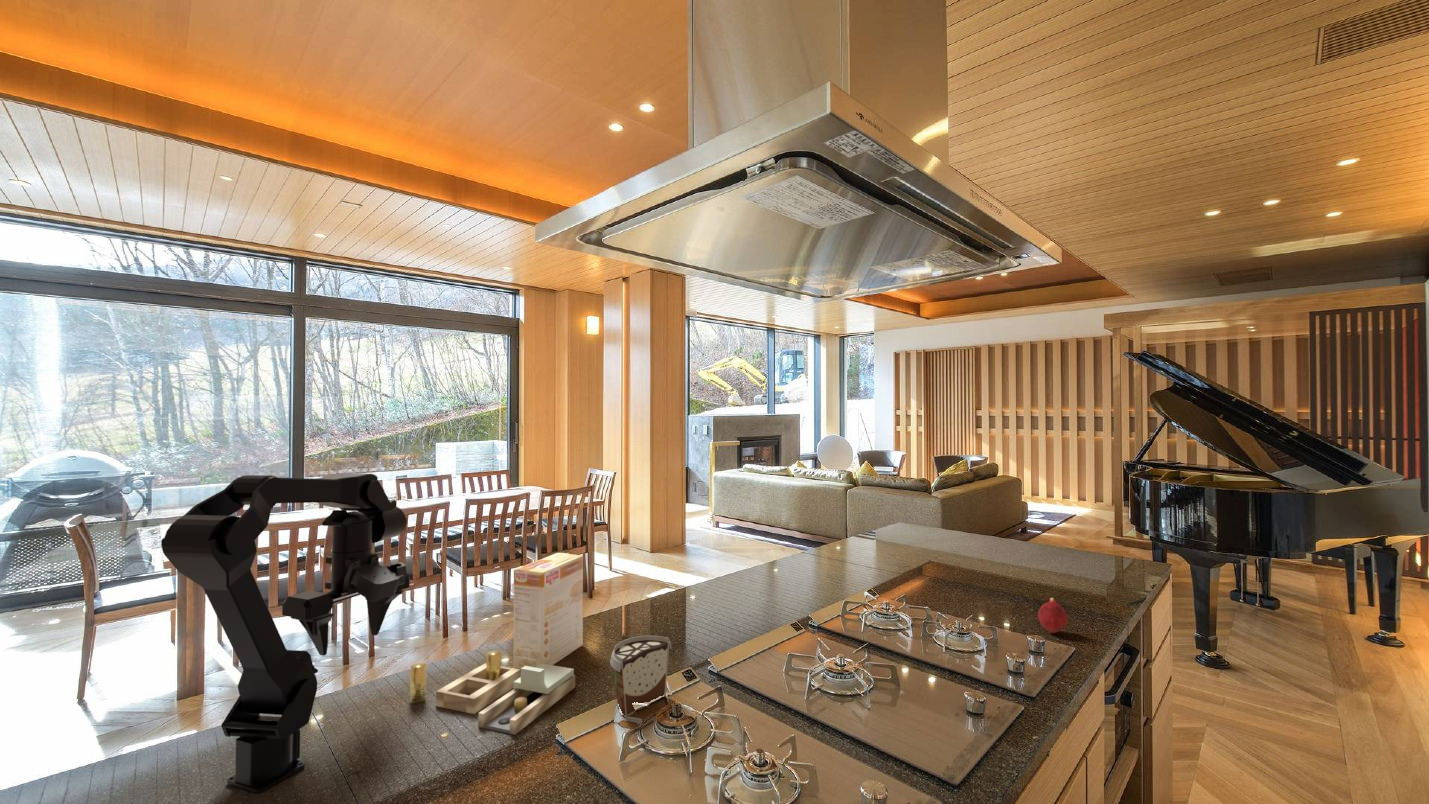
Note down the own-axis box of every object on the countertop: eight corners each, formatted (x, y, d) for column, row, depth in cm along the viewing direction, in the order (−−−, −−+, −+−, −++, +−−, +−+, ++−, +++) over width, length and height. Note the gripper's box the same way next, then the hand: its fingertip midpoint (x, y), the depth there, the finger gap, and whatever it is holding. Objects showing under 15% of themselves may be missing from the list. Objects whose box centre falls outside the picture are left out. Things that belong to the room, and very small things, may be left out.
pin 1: (417, 704, 101) (418, 669, 101) (406, 702, 102) (407, 667, 102) (428, 698, 104) (429, 664, 104) (418, 696, 104) (418, 662, 104)
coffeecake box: (556, 641, 130) (557, 551, 130) (584, 645, 127) (585, 554, 128) (510, 668, 116) (512, 568, 116) (541, 674, 113) (542, 572, 114)
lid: (547, 694, 100) (547, 673, 100) (513, 687, 102) (513, 667, 102) (573, 674, 108) (573, 655, 108) (541, 668, 110) (541, 649, 110)
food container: (647, 683, 110) (647, 629, 110) (671, 693, 106) (671, 637, 106) (594, 709, 100) (595, 649, 100) (618, 721, 96) (619, 659, 96)
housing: (514, 734, 92) (515, 720, 92) (478, 726, 94) (478, 713, 94) (575, 687, 108) (575, 675, 108) (542, 681, 110) (542, 669, 110)
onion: (1072, 638, 133) (1072, 602, 133) (1046, 637, 133) (1046, 602, 133) (1058, 628, 138) (1058, 594, 139) (1033, 628, 139) (1033, 594, 139)
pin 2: (483, 688, 107) (483, 654, 108) (492, 682, 110) (492, 649, 110) (494, 690, 107) (494, 656, 107) (503, 684, 109) (503, 651, 109)
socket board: (474, 714, 98) (474, 698, 98) (436, 706, 101) (436, 691, 101) (520, 683, 110) (520, 669, 110) (484, 676, 112) (485, 663, 112)
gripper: (333, 567, 86) (330, 675, 86) (434, 542, 104) (432, 631, 103) (281, 560, 90) (278, 663, 90) (387, 537, 107) (385, 623, 107)
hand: (350, 644), depth 97 cm, fingers open, 9 cm apart
